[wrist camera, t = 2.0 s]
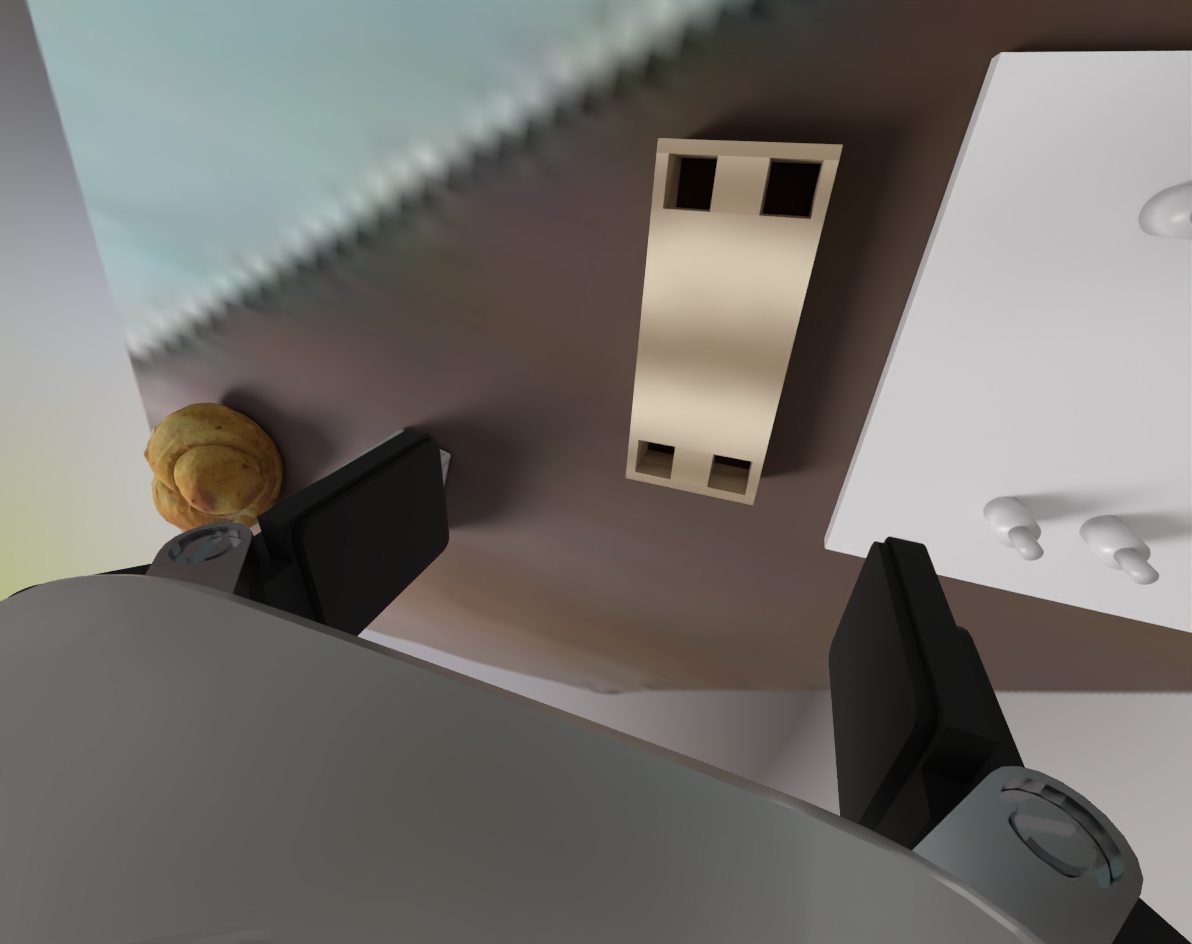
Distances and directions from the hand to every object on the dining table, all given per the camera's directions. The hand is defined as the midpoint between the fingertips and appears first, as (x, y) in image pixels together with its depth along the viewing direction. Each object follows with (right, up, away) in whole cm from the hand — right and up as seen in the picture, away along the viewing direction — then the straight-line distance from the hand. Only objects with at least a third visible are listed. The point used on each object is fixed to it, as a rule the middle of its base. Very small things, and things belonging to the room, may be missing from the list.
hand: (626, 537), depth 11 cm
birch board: (+6, +9, +15) cm, 18 cm away
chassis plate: (+22, +5, +11) cm, 25 cm away
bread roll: (-31, +2, +33) cm, 45 cm away
